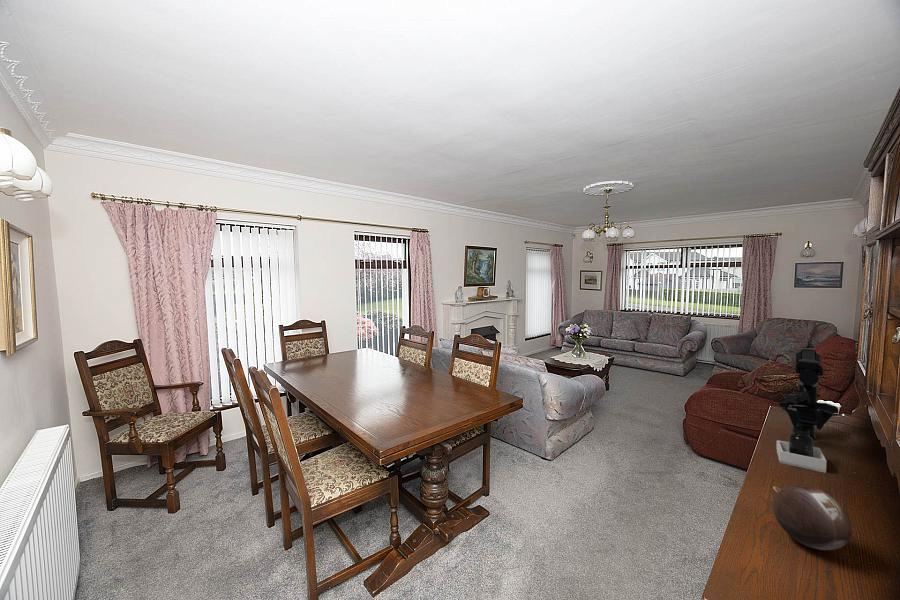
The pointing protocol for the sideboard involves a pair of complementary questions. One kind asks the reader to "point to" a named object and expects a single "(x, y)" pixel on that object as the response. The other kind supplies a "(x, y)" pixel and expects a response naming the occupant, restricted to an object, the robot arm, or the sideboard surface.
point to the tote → (801, 458)
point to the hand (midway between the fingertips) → (806, 428)
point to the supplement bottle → (801, 442)
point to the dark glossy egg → (812, 517)
